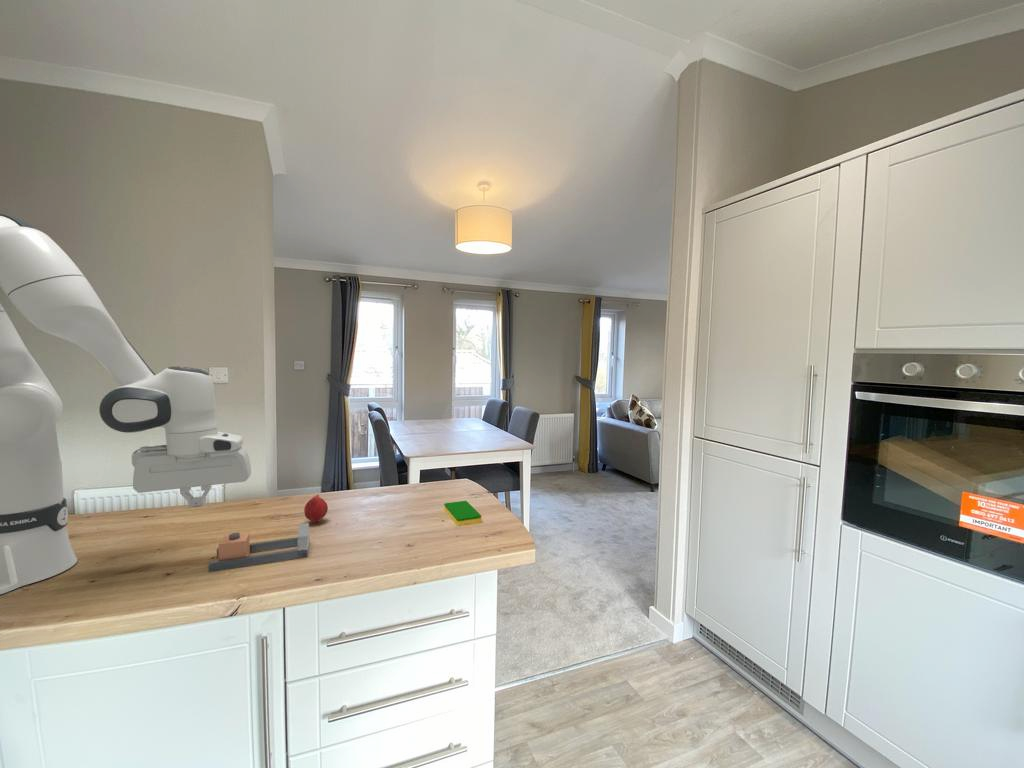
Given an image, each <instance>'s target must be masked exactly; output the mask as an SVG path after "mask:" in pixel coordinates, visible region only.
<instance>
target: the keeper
mask: <svg viewBox="0 0 1024 768" xmlns="http://www.w3.org/2000/svg"><path fill="white" fill-rule="evenodd" d="M250 539H251V538H250V531H249V532H233V533H230V534H224V535H223V536H222V538H221V539H220V541H219V543H218V545H217V546H218V547H217V548H218V550H219V557H218V560H225V559H232V558H239V557H246V556H250V555H251V553H250V543H251V542H250Z"/></svg>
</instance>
